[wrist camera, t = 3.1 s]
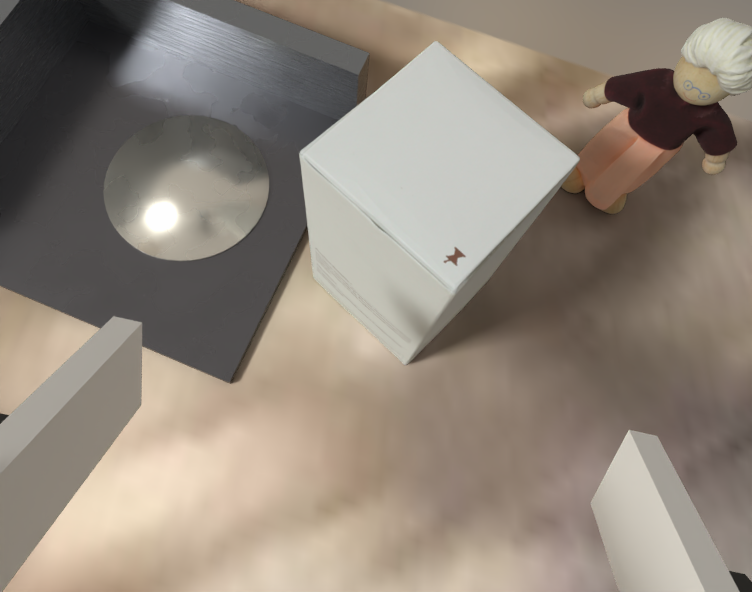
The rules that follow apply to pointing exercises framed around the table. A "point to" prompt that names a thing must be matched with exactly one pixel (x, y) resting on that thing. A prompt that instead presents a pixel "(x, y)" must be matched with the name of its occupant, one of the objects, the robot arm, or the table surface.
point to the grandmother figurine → (665, 115)
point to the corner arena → (161, 162)
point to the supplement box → (424, 197)
